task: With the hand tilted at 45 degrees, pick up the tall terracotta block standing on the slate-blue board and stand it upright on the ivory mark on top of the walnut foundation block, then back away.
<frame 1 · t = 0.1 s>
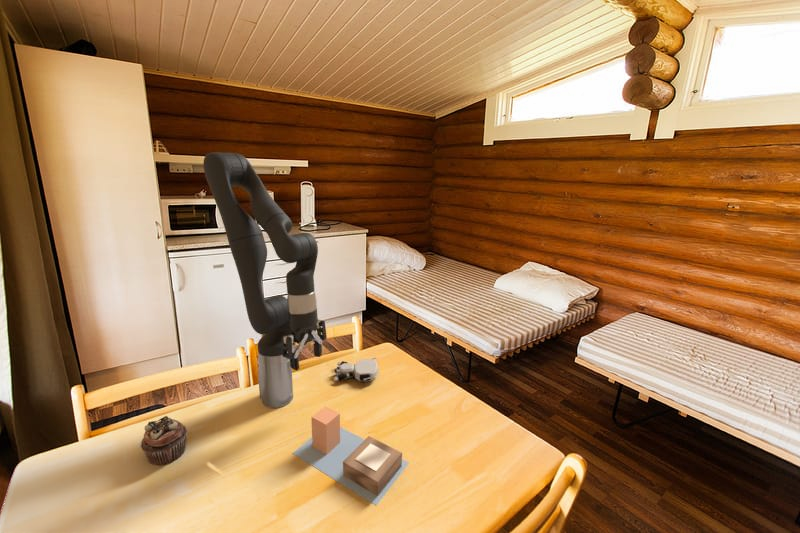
hand: (307, 362, 101), 17 cm above the table, tool pointing down, fingers open, 8 cm apart
cupcake: (167, 454, 91), on the table
walnut foundation: (372, 470, 87), resting on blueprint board
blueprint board: (350, 459, 91), on the table
robot toy: (356, 377, 126), on the table
terracotta block: (326, 444, 94), point 1 cm above the table, touching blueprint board
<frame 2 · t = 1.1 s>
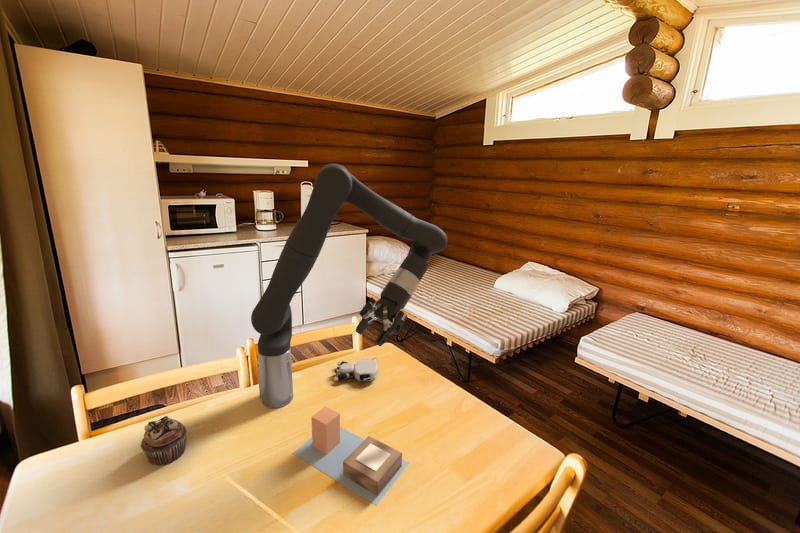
hand: (367, 338, 95), 27 cm above the table, tool tilted 45°, fingers open, 8 cm apart
nothing on the table moved.
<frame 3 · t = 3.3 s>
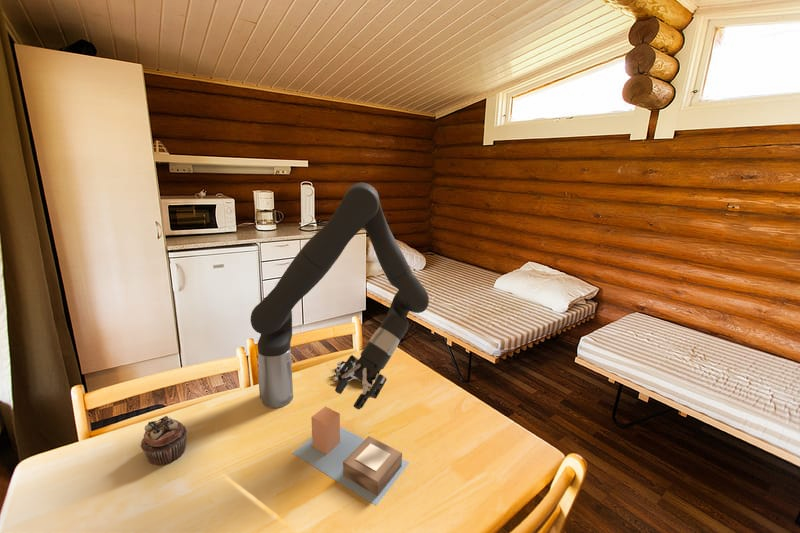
hand: (346, 400, 96), 11 cm above the table, tool tilted 45°, fingers open, 8 cm apart
nothing on the table moved.
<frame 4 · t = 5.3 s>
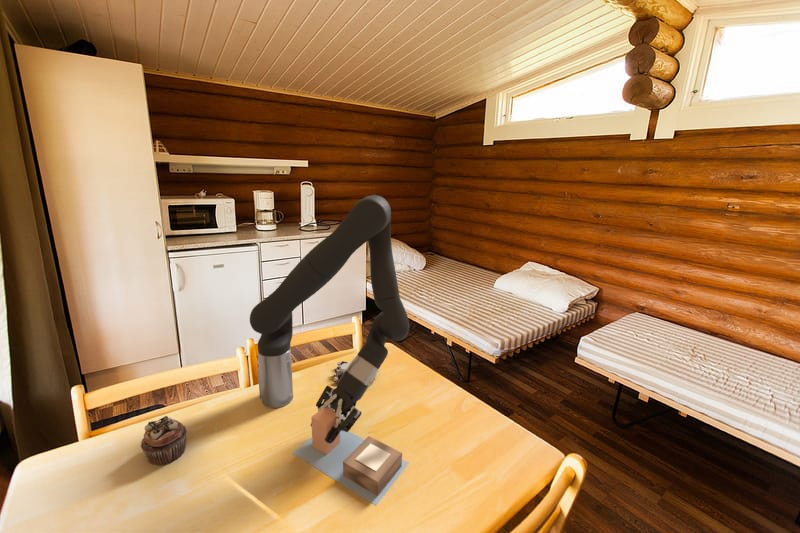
hand: (320, 434, 92), 5 cm above the table, tool tilted 45°, fingers closed on terracotta block, 6 cm apart
terracotta block: (326, 444, 94), point 1 cm above the table, touching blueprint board, gripper
everything else where it was.
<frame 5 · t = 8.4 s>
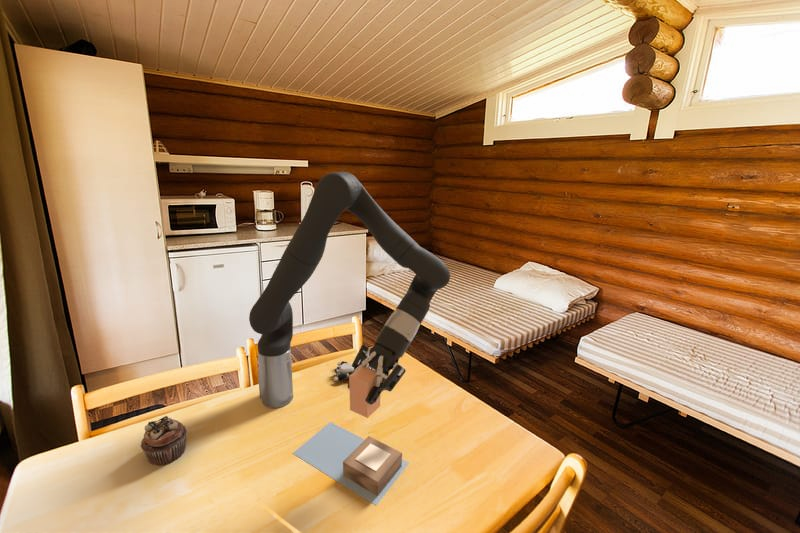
hand: (359, 395, 82), 21 cm above the table, tool tilted 45°, fingers closed on terracotta block, 6 cm apart
terracotta block: (365, 408, 84), point 17 cm above the table, touching gripper
everything else where it was.
when the fingers open (10 cm above the table, at t = 11.2 s): terracotta block stays where it is, resting on walnut foundation.
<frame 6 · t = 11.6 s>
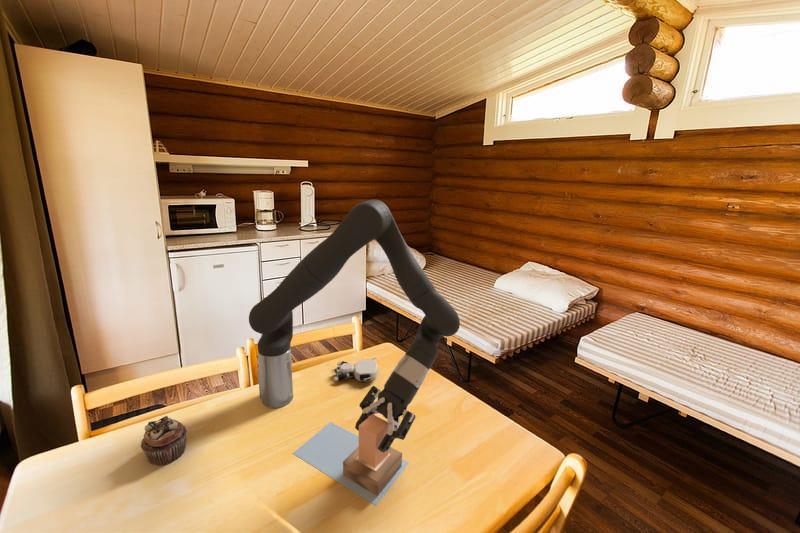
hand: (368, 440, 83), 10 cm above the table, tool tilted 45°, fingers open, 8 cm apart
terracotta block: (373, 456, 86), point 5 cm above the table, touching walnut foundation
everything else where it was.
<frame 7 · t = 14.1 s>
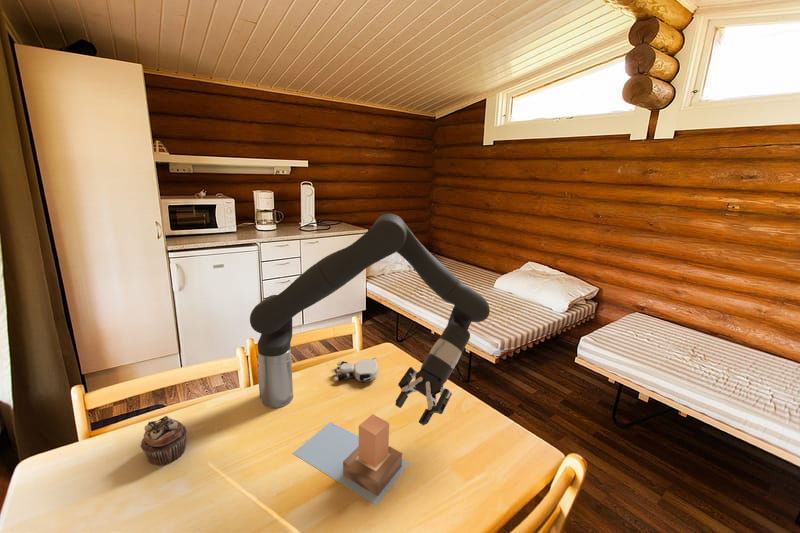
hand: (409, 415, 92), 10 cm above the table, tool tilted 45°, fingers open, 8 cm apart
nothing on the table moved.
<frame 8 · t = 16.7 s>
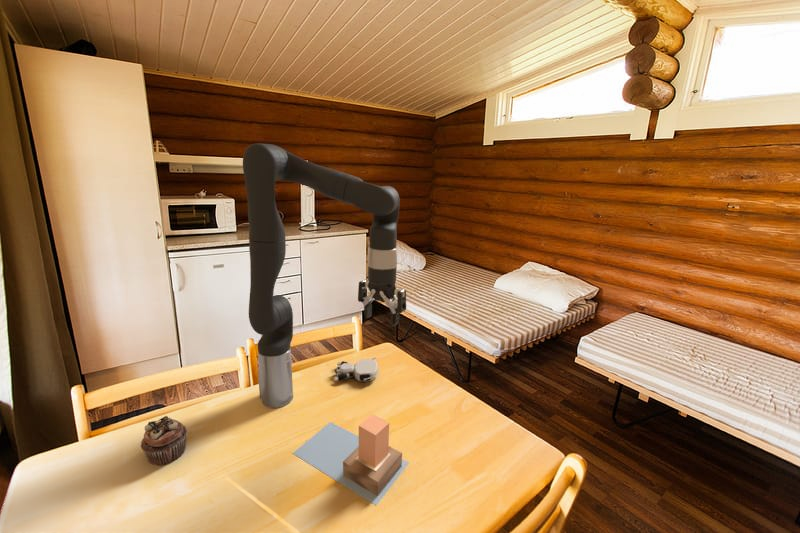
hand: (381, 321, 99), 30 cm above the table, tool pointing down, fingers open, 8 cm apart
nothing on the table moved.
at the end: terracotta block 0.1 cm from the target spot, point 4.8 cm above the table; terracotta block tilted 0°; the gripper is holding nothing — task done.
